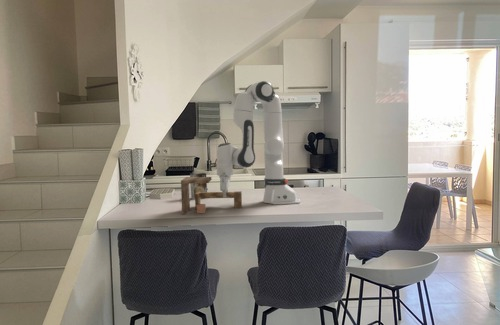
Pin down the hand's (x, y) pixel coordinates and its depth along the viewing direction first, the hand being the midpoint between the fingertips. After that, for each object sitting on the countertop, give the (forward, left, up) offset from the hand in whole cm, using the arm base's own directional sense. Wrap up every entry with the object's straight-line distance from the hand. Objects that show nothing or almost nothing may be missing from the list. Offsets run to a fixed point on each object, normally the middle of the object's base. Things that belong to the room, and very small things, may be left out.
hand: (225, 196), depth 227 cm
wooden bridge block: (+4, 0, -6) cm, 7 cm away
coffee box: (+20, -30, -6) cm, 37 cm away
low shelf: (+14, +12, -6) cm, 19 cm away
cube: (+12, +12, -6) cm, 18 cm away
